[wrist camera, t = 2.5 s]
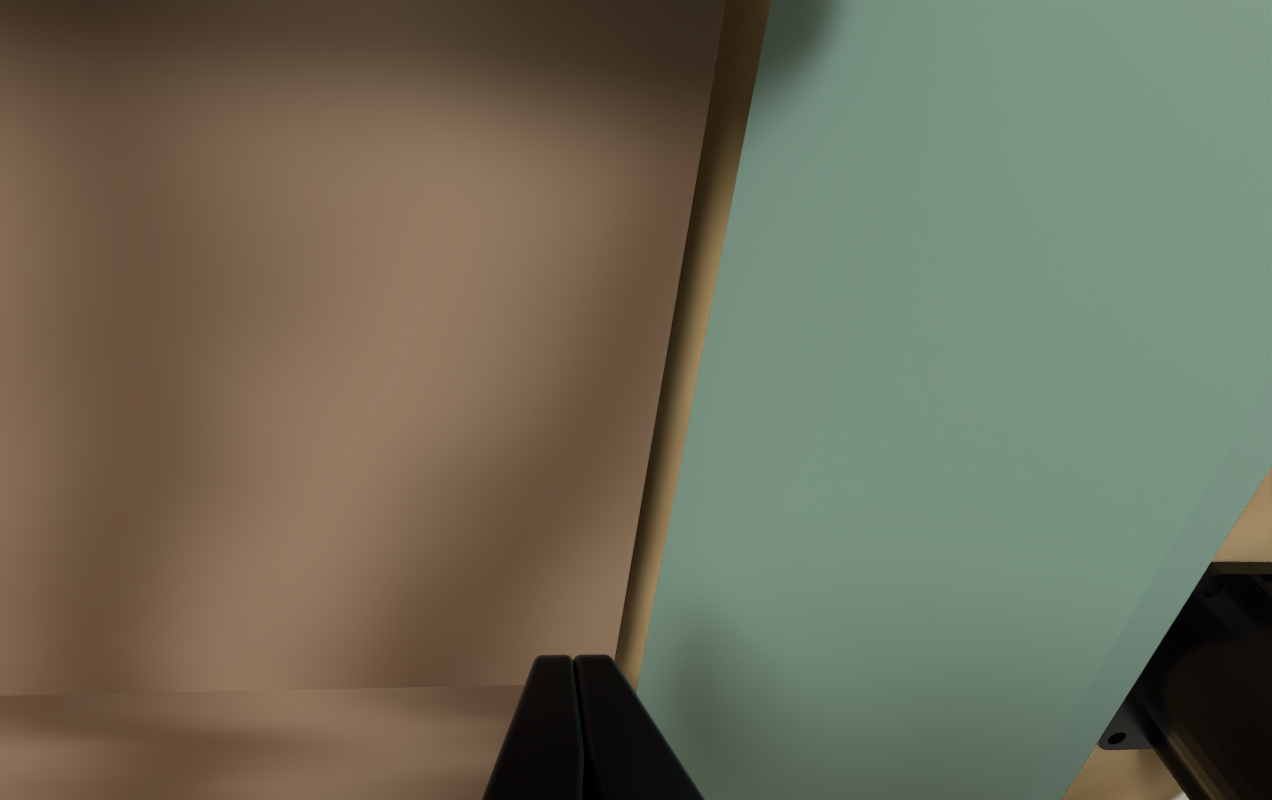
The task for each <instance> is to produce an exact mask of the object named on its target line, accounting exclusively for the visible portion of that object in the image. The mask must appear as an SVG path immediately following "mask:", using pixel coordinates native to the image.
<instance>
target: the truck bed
mask: <svg viewBox="0 0 1272 800" xmlns="http://www.w3.org/2000/svg"><path fill="white" fill-rule="evenodd" d="M726 3H727V0H0V800H481V799H482V797H483V794H484V792H485V789H486V786H487V784H488V781H489V778H490V776H491V773H492V770H493V768H494V765H495V762H496V760H497V757H498V754H499V752H500V749H501V746H502V744H503V741H504V739H505V736H506V733H507V731H508V728H509V725H510V723H511V720H512V717H513V715H514V712H515V709H516V707H517V704H518V701H519V699H520V696H521V693H522V691H523V688H524V685H525V683H526V680H527V678H528V675H529V672H530V670H531V667H532V664H533V662H534V660H535V658H536V657H538V656H539V655H569V656H570V657H571V658H572V659H574V658H575V657H576V656H577V655H584V654H605V655H609V656H610V657H612V658H613V660H615V654H616V648H617V642H618V636H619V630H620V624H621V619H622V613H623V607H624V601H625V595H626V589H627V583H628V577H629V572H630V566H631V560H632V554H633V548H634V542H635V536H636V531H637V525H638V519H639V513H640V507H641V501H642V495H643V490H644V484H645V478H646V472H647V466H648V460H649V454H650V448H651V443H652V437H653V431H654V425H655V419H656V413H657V407H658V402H659V396H660V390H661V384H662V378H663V372H664V366H665V361H666V355H667V349H668V343H669V337H670V331H671V325H672V319H673V314H674V308H675V302H676V296H677V290H678V284H679V278H680V273H681V267H682V261H683V255H684V249H685V243H686V237H687V231H688V226H689V220H690V214H691V208H692V202H693V196H694V190H695V185H696V179H697V173H698V167H699V161H700V155H701V149H702V144H703V138H704V132H705V126H706V120H707V114H708V108H709V102H710V97H711V91H712V85H713V79H714V73H715V67H716V61H717V56H718V50H719V44H720V38H721V32H722V26H723V20H724V15H725V9H726Z"/></svg>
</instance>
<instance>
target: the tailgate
mask: <svg viewBox="0 0 1272 800" xmlns="http://www.w3.org/2000/svg"><path fill="white" fill-rule="evenodd" d="M1271 466H1272V0H771V3H770V8H769V13H768V18H767V23H766V29H765V34H764V39H763V44H762V49H761V54H760V59H759V65H758V70H757V75H756V80H755V85H754V90H753V95H752V100H751V106H750V111H749V116H748V121H747V126H746V131H745V136H744V142H743V147H742V152H741V157H740V162H739V167H738V172H737V178H736V183H735V188H734V193H733V198H732V203H731V208H730V213H729V219H728V224H727V229H726V234H725V239H724V244H723V249H722V255H721V260H720V265H719V270H718V275H717V280H716V285H715V291H714V296H713V301H712V306H711V311H710V316H709V321H708V326H707V332H706V337H705V342H704V347H703V352H702V357H701V362H700V368H699V373H698V378H697V383H696V388H695V393H694V398H693V404H692V409H691V414H690V419H689V424H688V429H687V434H686V440H685V445H684V450H683V455H682V460H681V465H680V470H679V475H678V481H677V486H676V491H675V496H674V501H673V506H672V511H671V517H670V522H669V527H668V532H667V537H666V542H665V547H664V553H663V558H662V563H661V568H660V573H659V578H658V583H657V588H656V594H655V599H654V604H653V609H652V614H651V619H650V624H649V630H648V635H647V640H646V645H645V650H644V655H643V660H642V666H641V671H640V676H639V681H638V686H637V691H636V695H637V696H638V698H639V699H640V701H641V702H642V704H643V705H644V707H645V708H646V710H647V711H648V713H649V714H650V716H651V718H652V719H653V721H654V722H655V724H656V725H657V727H658V728H659V730H660V731H661V733H662V734H663V736H664V737H665V739H666V741H667V742H668V744H669V745H670V747H671V748H672V750H673V751H674V753H675V754H676V756H677V757H678V759H679V760H680V762H681V764H682V765H683V767H684V768H685V770H686V771H687V773H688V774H689V776H690V777H691V779H692V780H693V782H694V783H695V785H696V787H697V788H698V790H699V791H700V793H701V794H702V796H703V797H704V799H705V800H1061V799H1062V798H1063V796H1064V795H1065V793H1066V792H1067V790H1068V788H1069V787H1070V785H1071V784H1072V782H1073V780H1074V779H1075V777H1076V776H1077V774H1078V772H1079V771H1080V769H1081V768H1082V766H1083V765H1084V763H1085V761H1086V760H1087V758H1088V757H1089V755H1090V753H1091V752H1092V750H1093V749H1094V747H1095V745H1096V744H1097V742H1098V741H1099V739H1100V738H1101V736H1102V734H1103V733H1104V731H1105V730H1106V728H1107V726H1108V725H1109V723H1110V722H1111V720H1112V718H1113V717H1114V715H1115V714H1116V712H1117V711H1118V709H1119V707H1120V706H1121V704H1122V703H1123V701H1124V699H1125V698H1126V696H1127V695H1128V693H1129V691H1130V690H1131V688H1132V687H1133V685H1134V684H1135V682H1136V680H1137V679H1138V677H1139V676H1140V674H1141V672H1142V671H1143V669H1144V668H1145V666H1146V664H1147V663H1148V661H1149V660H1150V658H1151V656H1152V655H1153V653H1154V652H1155V650H1156V649H1157V647H1158V645H1159V644H1160V642H1161V641H1162V639H1163V637H1164V636H1165V634H1166V633H1167V631H1168V629H1169V628H1170V626H1171V625H1172V623H1173V622H1174V620H1175V618H1176V617H1177V615H1178V614H1179V612H1180V610H1181V609H1182V607H1183V606H1184V604H1185V602H1186V601H1187V599H1188V598H1189V596H1190V595H1191V593H1192V591H1193V590H1194V588H1195V587H1196V585H1197V583H1198V582H1199V580H1200V579H1201V577H1202V575H1203V574H1204V572H1205V571H1206V569H1207V568H1208V566H1209V564H1210V563H1211V561H1212V560H1213V558H1214V556H1215V555H1216V553H1217V552H1218V550H1219V548H1220V547H1221V545H1222V544H1223V542H1224V541H1225V539H1226V537H1227V536H1228V534H1229V533H1230V531H1231V529H1232V528H1233V526H1234V525H1235V523H1236V521H1237V520H1238V518H1239V517H1240V515H1241V514H1242V512H1243V510H1244V509H1245V507H1246V506H1247V504H1248V502H1249V501H1250V499H1251V498H1252V496H1253V494H1254V493H1255V491H1256V490H1257V488H1258V487H1259V485H1260V483H1261V482H1262V480H1263V479H1264V477H1265V475H1266V474H1267V472H1268V471H1269V469H1270V467H1271Z"/></svg>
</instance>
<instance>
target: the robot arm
mask: <svg viewBox="0 0 1272 800" xmlns="http://www.w3.org/2000/svg"><path fill="white" fill-rule="evenodd" d="M1097 743H1098V745H1099V747H1100V748H1102V749H1104V750H1127V749H1154V750H1155V752H1156V753H1157V755H1158V756H1159V757H1160V759H1161V760H1162V762H1163V763H1164V764H1165V766H1166V767H1167V769H1168V770H1169V771H1170V773H1171V774H1172V776H1173V777H1174V779H1175V780H1176V781H1177V783H1178V784H1179V786H1180V787H1181V788H1182V790H1183V791H1184V793H1185V794H1186V795H1187V797H1188V798H1189V800H1272V562H1211V563H1210V564H1209V566H1208V568H1207V569H1206V571H1205V572H1204V574H1203V575H1202V577H1201V579H1200V580H1199V582H1198V583H1197V585H1196V587H1195V588H1194V590H1193V591H1192V593H1191V595H1190V596H1189V598H1188V599H1187V601H1186V602H1185V604H1184V606H1183V607H1182V609H1181V610H1180V612H1179V614H1178V615H1177V617H1176V618H1175V620H1174V622H1173V623H1172V625H1171V626H1170V628H1169V629H1168V631H1167V633H1166V634H1165V636H1164V637H1163V639H1162V641H1161V642H1160V644H1159V645H1158V647H1157V649H1156V650H1155V652H1154V653H1153V655H1152V656H1151V658H1150V660H1149V661H1148V663H1147V664H1146V666H1145V668H1144V669H1143V671H1142V672H1141V674H1140V676H1139V677H1138V679H1137V680H1136V682H1135V684H1134V685H1133V687H1132V688H1131V690H1130V691H1129V693H1128V695H1127V696H1126V698H1125V699H1124V701H1123V703H1122V704H1121V706H1120V707H1119V709H1118V711H1117V712H1116V714H1115V715H1114V717H1113V718H1112V720H1111V722H1110V723H1109V725H1108V726H1107V728H1106V730H1105V731H1104V733H1103V734H1102V736H1101V738H1100V739H1099V741H1098V742H1097ZM481 800H705V799H704V797H703V796H702V794H701V793H700V791H699V790H698V788H697V787H696V785H695V783H694V782H693V780H692V779H691V777H690V776H689V774H688V773H687V771H686V770H685V768H684V767H683V765H682V764H681V762H680V760H679V759H678V757H677V756H676V754H675V753H674V751H673V750H672V748H671V747H670V745H669V744H668V742H667V741H666V739H665V737H664V736H663V734H662V733H661V731H660V730H659V728H658V727H657V725H656V724H655V722H654V721H653V719H652V718H651V716H650V714H649V713H648V711H647V710H646V708H645V707H644V705H643V704H642V702H641V701H640V699H639V698H638V696H637V695H636V693H635V691H634V690H633V688H632V687H631V685H630V684H629V682H628V681H627V679H626V678H625V676H624V675H623V673H622V672H621V670H620V668H619V667H618V665H617V664H616V662H615V661H614V660H613V658H612V657H610V656H609V655H605V654H584V655H577V656H576V657H575V658H574V659H572V658H571V657H570V656H569V655H539V656H538V657H536V658H535V660H534V662H533V664H532V667H531V670H530V672H529V675H528V678H527V680H526V683H525V685H524V688H523V691H522V693H521V696H520V699H519V701H518V704H517V707H516V709H515V712H514V715H513V717H512V720H511V723H510V725H509V728H508V731H507V733H506V736H505V739H504V741H503V744H502V746H501V749H500V752H499V754H498V757H497V760H496V762H495V765H494V768H493V770H492V773H491V776H490V778H489V781H488V784H487V786H486V789H485V792H484V794H483V797H482V799H481Z"/></svg>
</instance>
